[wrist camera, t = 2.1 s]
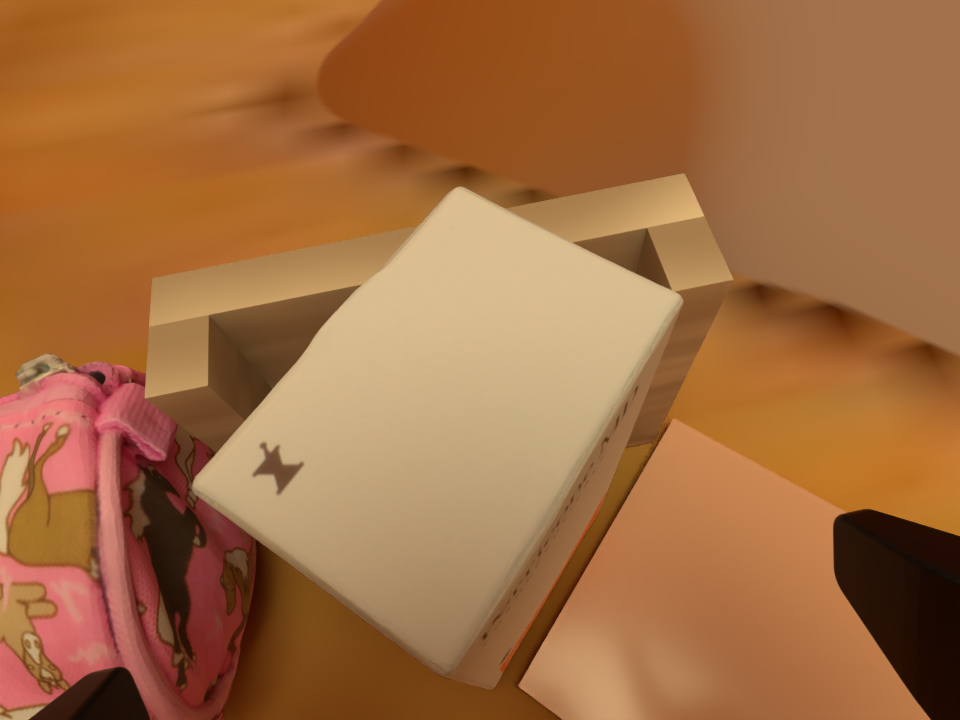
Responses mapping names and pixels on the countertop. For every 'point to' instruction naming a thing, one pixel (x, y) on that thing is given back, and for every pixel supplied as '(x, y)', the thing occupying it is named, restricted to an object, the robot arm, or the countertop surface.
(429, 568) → the skincare box
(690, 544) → the tile
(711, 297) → the shallow wooden tray
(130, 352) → the countertop surface
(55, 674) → the pencil case
